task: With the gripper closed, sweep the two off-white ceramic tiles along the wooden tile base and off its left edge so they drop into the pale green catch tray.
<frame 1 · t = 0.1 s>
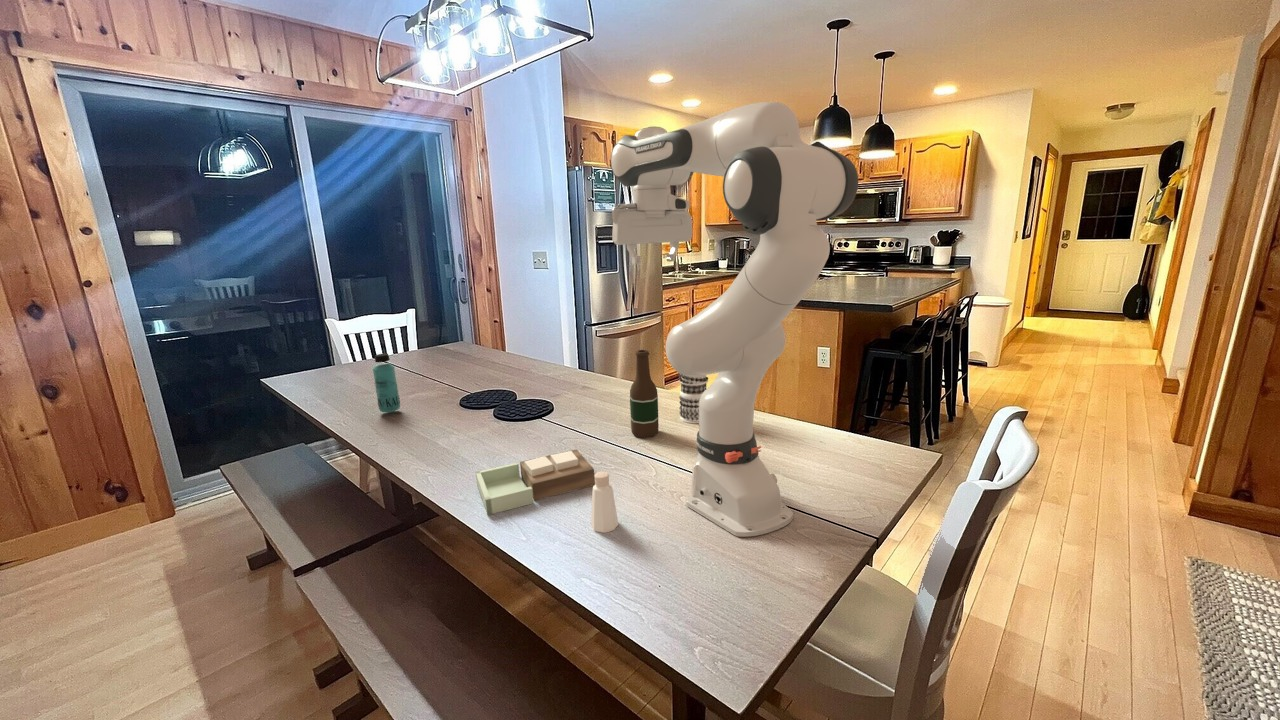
hand: (653, 262, 123), 48 cm above the table, fingers open, 8 cm apart
beer bottle: (645, 434, 143), on the table
catch tray: (504, 494, 112), on the table
beverage bottle: (391, 413, 166), on the table
tile 2: (564, 463, 117), point 4 cm above the table, touching wooden tile base
wooden tile base: (557, 481, 117), on the table
tile 1: (539, 469, 114), point 4 cm above the table, touching wooden tile base
salt shaker: (604, 526, 99), on the table
decorative candle: (694, 418, 153), on the table
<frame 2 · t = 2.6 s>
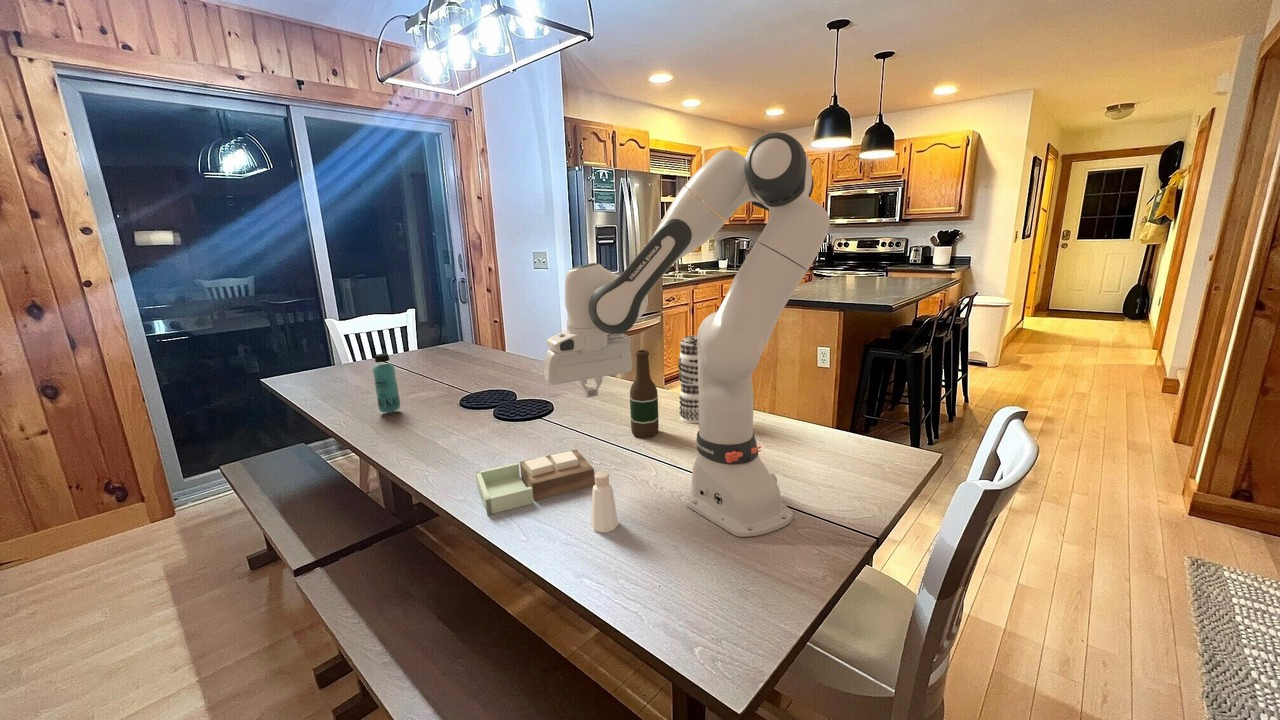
hand: (591, 396, 116), 19 cm above the table, fingers closed
nothing on the table moved.
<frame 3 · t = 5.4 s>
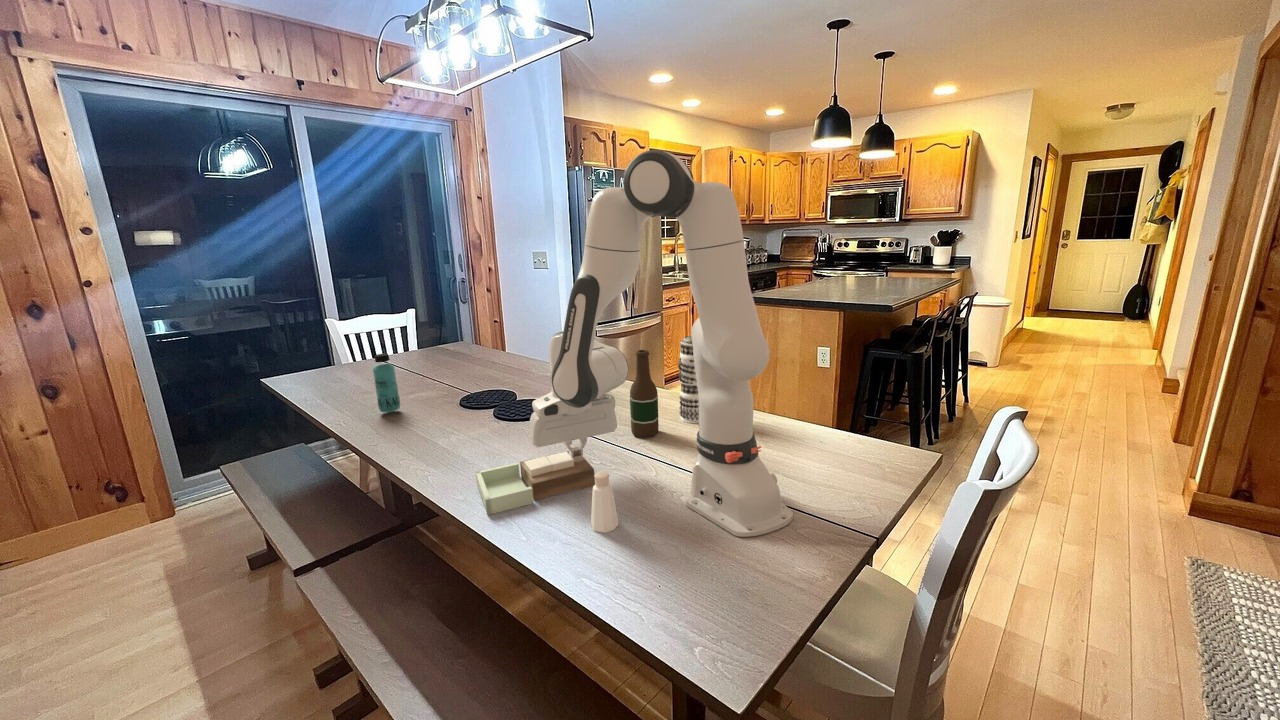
hand: (576, 455, 118), 5 cm above the table, fingers closed
tile 2: (560, 464, 116), point 4 cm above the table, touching gripper, tile 1
tile 1: (538, 469, 114), point 4 cm above the table, touching wooden tile base, tile 2
everything else where it was.
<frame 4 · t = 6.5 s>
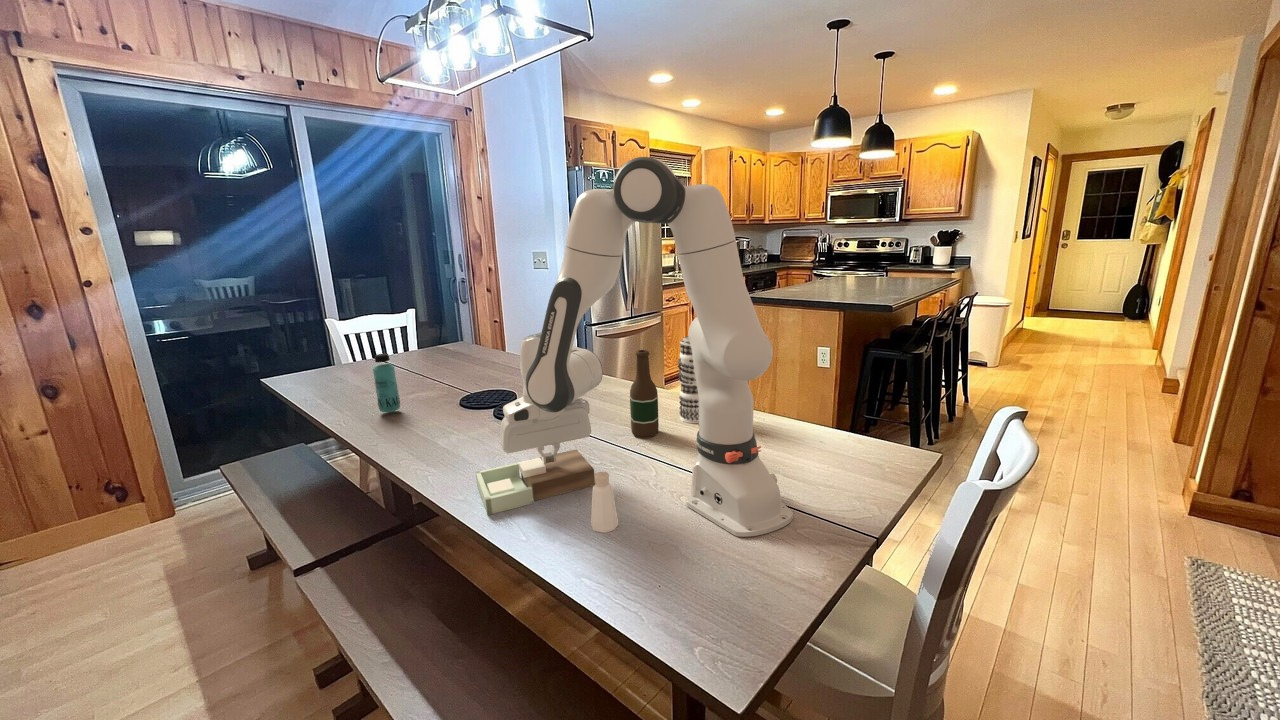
hand: (549, 461, 115), 5 cm above the table, fingers closed
tile 2: (532, 470, 114), point 4 cm above the table, touching gripper
tile 1: (500, 485, 112), point 2 cm above the table, tilted 180°, touching catch tray
everything else where it was.
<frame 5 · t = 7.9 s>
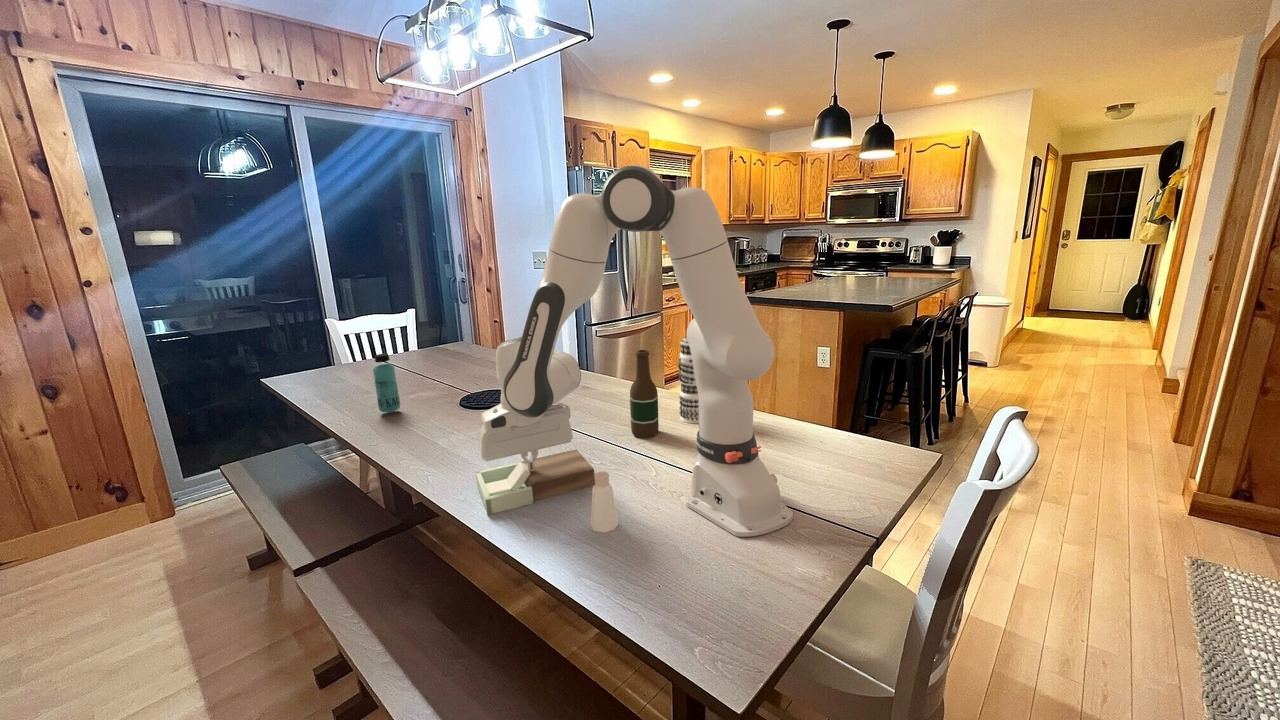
hand: (530, 468, 114), 5 cm above the table, fingers closed, pressing on tile 2
tile 2: (521, 478, 113), point 3 cm above the table, tilted 47°, touching gripper, tile 1
tile 1: (497, 486, 111), point 2 cm above the table, tilted 180°, touching catch tray, tile 2
everything else where it was.
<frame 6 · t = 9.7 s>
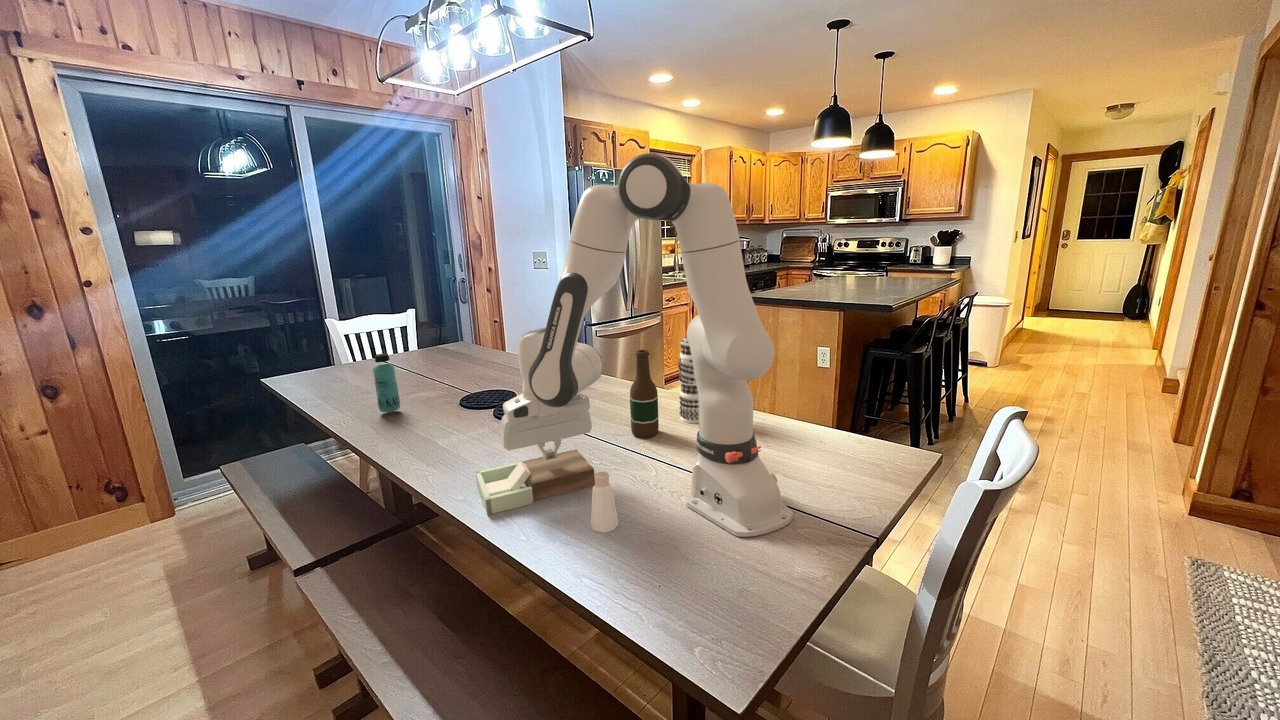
hand: (550, 458, 115), 6 cm above the table, fingers closed
tile 2: (521, 478, 113), point 3 cm above the table, tilted 46°, touching wooden tile base, tile 1
everything else where it was.
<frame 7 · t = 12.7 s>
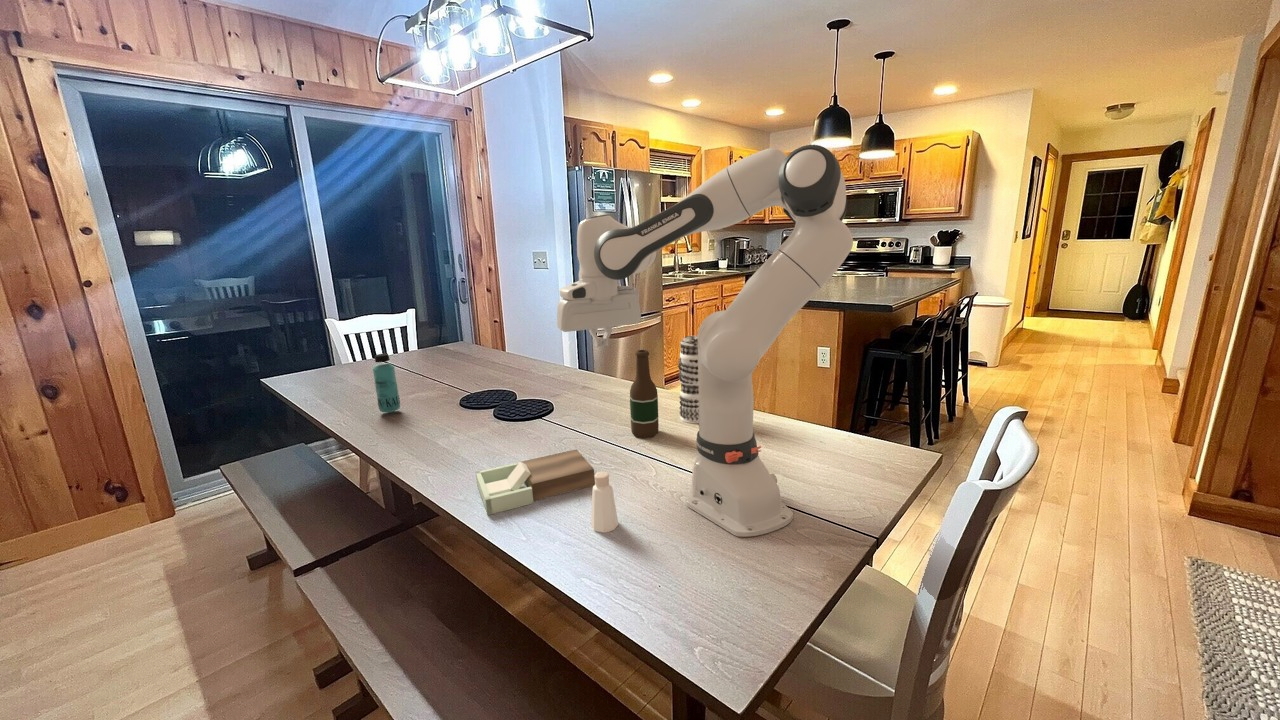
hand: (601, 345, 121), 29 cm above the table, fingers closed
nothing on the table moved.
at the end: tile 2 inside the target area on the catch tray (3.6 cm from its centre), point 2.8 cm above the catch tray's base; tile 1 inside the target area on the catch tray (1.8 cm from its centre), point 2.1 cm above the catch tray's base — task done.
